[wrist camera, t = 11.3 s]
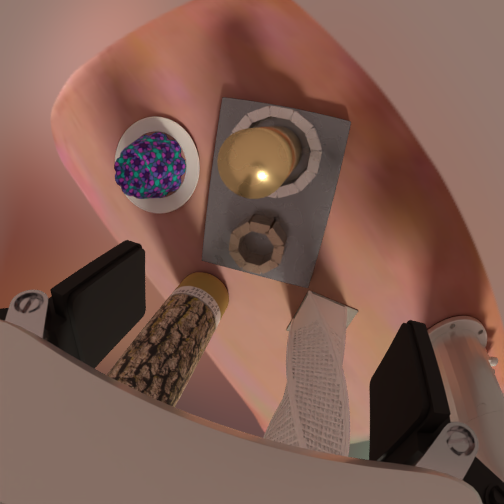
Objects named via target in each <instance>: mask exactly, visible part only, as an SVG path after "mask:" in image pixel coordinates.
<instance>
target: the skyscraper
mask: <svg viewBox="0 0 504 504" xmlns="http://www.w3.org/2000/svg"><path fill="white" fill-rule="evenodd" d="M357 312H358V310H356V309H353V308H351V307H348V306H346V305H344V304H341V303H339V302H336V301H334V300H332V299H329V298H327V297H324V296H322V295H320V294H317V293H315V292H312V291H310V290H308V292H307V294H306V296H305V298H304V300H303V301H302V303H301V305H300V307H299V309H298V310H297V312H296V314H295V316H294V318H293V319H292V321H291V323H290V325H289V326H288V328H287V331H289V335H288V342H287V351H286V375H287V384H286V389H285V393H284V396H283V399H282V401H281V403H280V404H279V406H278V408H277V410H276V412H275V413H274V415H273V417H272V419H271V421H270V423H269V426H268V428H267V430H266V432H265V435H264V437H263V438H265V439H268V440H272V441H276V442H280V443H284V444H288V445H292V446H296V447H300V448H305V449H309V450H314V451H319V452H324V453H329V454H335V455H341V456H346V457H348V454H349V441H350V411H349V399H348V392H347V385H346V380H345V376H344V371H343V367H342V365H343V358H344V349H345V338H346V328H347V327H348V325H349V324H350V323H351V321H352V320H353V318H354V317H355V315H356V314H357Z"/></svg>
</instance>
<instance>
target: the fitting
mask: <svg viewBox="0 0 504 504" xmlns="http://www.w3.org/2000/svg"><path fill="white" fill-rule="evenodd" d="M301 156H302V146H301V142H300V140H299V138H298V137H297V135H296V134H295V133H294V132H293V131H291V130H290V129H288V128H286V127H282V126H268V127H257V128H247V129H242V130H239V131H237V132H235V133H233V134H232V135H230V136H229V137H228V138H227V139H226V140H225V141H224V143H223V144H222V146H221V148H220V150H219V154H218V160H217V165H218V171H219V174H220V177H221V179H222V181H223V182H224V184H225V185H226V186H227V187H228V188H229V189H230V190H231V191H232V192H234V193H235V194H237V195H239V196H241V197H244V198H249V199H259V198H263V197H266V196H269V195H271V194H272V193H274V192H275V191H276V190H277V189H278V188H279V187H280V186H281V185H282V184H283V182H284V181H285V180H286V179H287V177H288V176H289V175H290V174H291V172H292V171H293V170H294V169H295V168H296V166H297V165H298V164H299V162H300V160H301Z"/></svg>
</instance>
